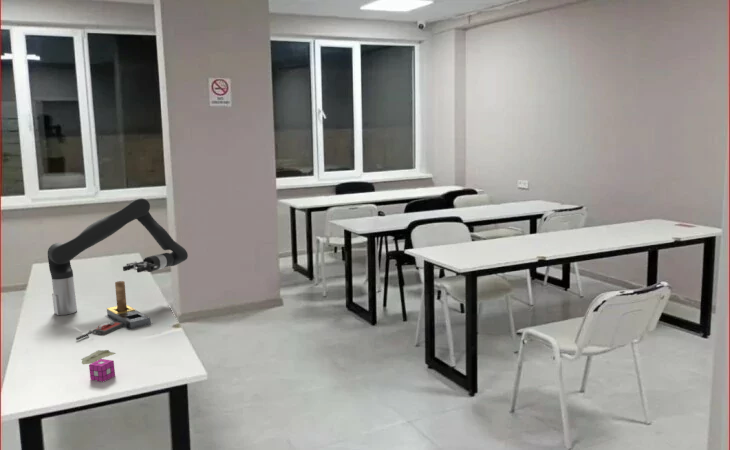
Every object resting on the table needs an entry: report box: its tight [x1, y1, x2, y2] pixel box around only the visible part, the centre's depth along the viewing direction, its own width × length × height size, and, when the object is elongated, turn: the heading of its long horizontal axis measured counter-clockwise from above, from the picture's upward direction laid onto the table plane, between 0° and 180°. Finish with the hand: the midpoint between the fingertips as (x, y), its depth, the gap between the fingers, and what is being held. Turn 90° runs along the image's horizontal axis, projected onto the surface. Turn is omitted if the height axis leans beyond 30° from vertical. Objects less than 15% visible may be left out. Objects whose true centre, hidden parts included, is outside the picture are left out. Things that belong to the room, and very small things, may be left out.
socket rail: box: [105, 304, 154, 331], centre depth 275 cm, size 11×28×4 cm, turn 42°
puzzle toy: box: [88, 358, 116, 383], centre depth 213 cm, size 6×6×6 cm
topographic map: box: [80, 349, 117, 365], centre depth 232 cm, size 14×14×2 cm
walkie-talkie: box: [75, 321, 124, 341], centre depth 259 cm, size 9×4×20 cm
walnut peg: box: [114, 280, 127, 312], centre depth 279 cm, size 4×4×16 cm
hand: (130, 269), depth 287 cm, fingers open, 8 cm apart
